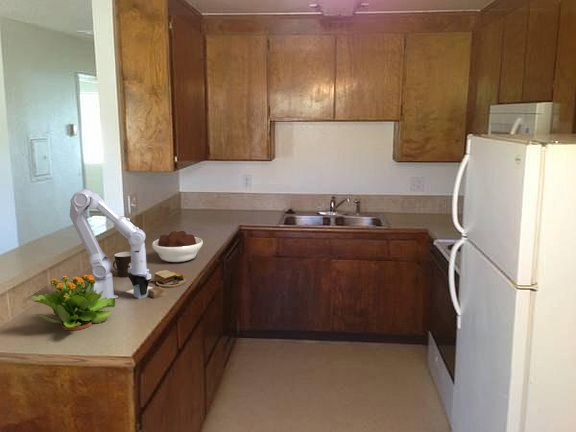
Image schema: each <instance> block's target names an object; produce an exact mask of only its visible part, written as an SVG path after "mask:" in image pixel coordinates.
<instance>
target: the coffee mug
mask: <svg viewBox="0 0 576 432" xmlns="http://www.w3.org/2000/svg"><path fill="white" fill-rule="evenodd" d="M112 264H113V267H112V268H113V269H114V270H115V271H116V272H117V277H119V278H123V279H124V278H125V279H126V278H129V277H128V276H129V275H131V273H128V268H131V267H132V266H131V251H121V252H120V251H119V252H117V253H114V261H112ZM115 265H116V266H115Z"/></svg>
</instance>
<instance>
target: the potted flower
mask: <svg viewBox="0 0 576 432" xmlns="http://www.w3.org/2000/svg"><path fill="white" fill-rule="evenodd" d="M93 278H94V276H93V275H92V274H90V275H88V274H82V275H81V276H80V277H78V276H75V277H73V278H72V279H70V281H69V277H68V276H67V275H64V276H63V275H62V277H61V281H62V282H60V280H58V279H57V278H52V279H50V285H51V286H54V288H55V292H54V293H51V294H50V293H45V294H44V295H43V294H38V295H37V296H36V295H33V296H32V297H31V298H32V300H33V301H34V302H35V303H41V304H43V305H46V306H48V307H50V308H51V310H52V311H53V313H54V314H50V315H51V316H57V317H58V318H59V319H60V320H57V319H54V318H50V317H49V316H45V315H42V314H38V313H35V315H36V316H38V317H40V318H41V319H43V320H45V321H48V322H50V323H54V324H57V325H58V324H60V325H61V327H62V329H63V330H64V331H80V330H84V329H86V328H89V327H91V325H92V324H93V323H94V324H96V325H97V324H98V323H99V324H100V323H102V322H105V321H106V320H107V319H108V318H109V317H110V315H112V311H110V310H103V309H105V308H115V305H116V298H109V299H108V298H107V297H105V298H102V299H101V296H102V294H103V291H101V292H100V293H98V294H97V293H95V292H96V291H97V290H95V291H94V289H93V290H92V288H93V287H94V284H95V283H96V281H95V280H94V279H93ZM87 283H89V284H87ZM90 285H91V286H90ZM88 286H90V291H89V292H87V288H88ZM92 286H93V287H92ZM91 290H92V292H91ZM59 292H60V293H59ZM93 292H94V293H93Z"/></svg>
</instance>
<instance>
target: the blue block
mask: <svg viewBox="0 0 576 432" xmlns="http://www.w3.org/2000/svg"><path fill="white" fill-rule="evenodd" d="M132 288H133V291H134V294H133V297H135V298H137V299H143V298H147V297H149V296H148V289H147V293H146V294H144V295H141V293H140V288H139V284H138V285H135V286H133V285H132Z"/></svg>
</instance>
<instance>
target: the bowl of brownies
mask: <svg viewBox="0 0 576 432" xmlns="http://www.w3.org/2000/svg"><path fill="white" fill-rule="evenodd" d="M203 244H204V241H203V239H202V238H200V237H197V236H195V235H193V234H191V233H190V234H189V233H187V232H186V231H185V230H179V231H175V230H173V231H171V232H170V233H169V234H162V235H160V236H159V238H158V239H156V240H154V241H152V243H151V247H152V249H153V250H154V251H155V252H156V253H157V254H158V256H159V259H161V261H162V260H163V261H164V262H170V263H171V262H172V263H181V262H186V261H190V260H193V259H195V258H196V257H197V255H198V252H199V250H201V248H202V247H203V246H204V245H203Z"/></svg>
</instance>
